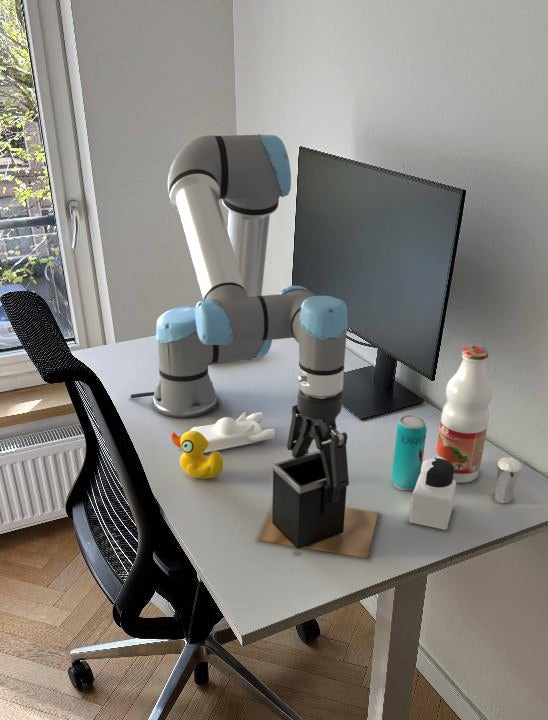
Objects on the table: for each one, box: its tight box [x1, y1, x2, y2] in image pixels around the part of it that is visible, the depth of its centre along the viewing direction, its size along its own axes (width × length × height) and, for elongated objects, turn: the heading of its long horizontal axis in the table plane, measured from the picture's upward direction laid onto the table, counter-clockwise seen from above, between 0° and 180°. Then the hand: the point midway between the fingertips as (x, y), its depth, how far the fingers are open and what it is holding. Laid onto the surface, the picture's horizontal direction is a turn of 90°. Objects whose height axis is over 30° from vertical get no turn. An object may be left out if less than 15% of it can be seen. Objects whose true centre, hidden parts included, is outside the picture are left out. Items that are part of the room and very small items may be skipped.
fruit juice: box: [434, 345, 494, 484], centre depth 153 cm, size 9×9×28 cm
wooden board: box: [258, 507, 379, 559], centre depth 142 cm, size 20×14×1 cm
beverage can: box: [391, 414, 428, 492], centre depth 152 cm, size 6×6×15 cm
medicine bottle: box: [408, 457, 457, 531], centre depth 143 cm, size 7×7×12 cm
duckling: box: [170, 430, 224, 480], centre depth 154 cm, size 11×5×10 cm, turn 68°
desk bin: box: [271, 450, 348, 550], centre depth 137 cm, size 13×9×10 cm
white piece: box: [189, 411, 276, 454], centre depth 168 cm, size 10×20×6 cm, turn 111°
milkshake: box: [494, 456, 528, 504], centre depth 149 cm, size 4×5×10 cm
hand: (314, 500), depth 138 cm, fingers closed on desk bin, 9 cm apart
